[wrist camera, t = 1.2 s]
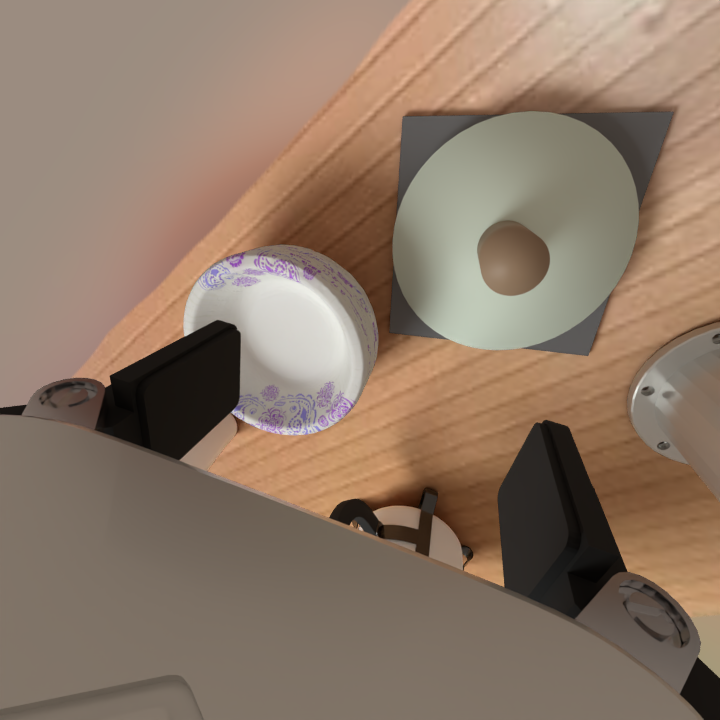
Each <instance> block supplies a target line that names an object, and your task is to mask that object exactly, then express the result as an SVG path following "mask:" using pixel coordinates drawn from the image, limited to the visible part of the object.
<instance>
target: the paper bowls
mask: <svg viewBox="0 0 720 720" xmlns="http://www.w3.org/2000/svg"><path fill="white" fill-rule="evenodd" d="M216 320H221V321H224V322H227V323H231V324H234V325H235V326H236V327H237V330H239V331H240V333H241V358H240V399H239V403H238V405H237V406H236V408H235V409H234V410H233V411H232V412H231V413H232V414H234V415H235V416H236V417H238V418H239V419H241V420H243V421H245V422H246V423H248V424H250V425H252V426H254V427H257V428H259V429H262V430H265V431H268V432H272V433H277V434H283V435H305V434H311V433H316V432H319V431H322V430H324V429H326V428H329V427H331V426H332V425H334V424H336V423H337V422H339V421H340V420H341V419H343V418H344V417H345V416H346V415H347V414H348V413H349V412H350V411H351V409H353V407H354V406H355V404H356V403H357V401H358V400H359V398H360V396H361V394H362V392H363V389H364V387H365V385H366V383H367V381H368V379H369V376H370V374H371V372H372V370H373V367H374V365H375V361H376V358H377V351H378V328H377V323H376V318H375V315H374V311H373V308H372V306H371V304H370V302H369V299H368V297H367V295H366V293H365V291H364V289H363V288H362V287H361V286H360V285H359V283H358V282H357V281H356V280H355V278H354V277H353V276H352V275H351V274H350V273H349V272H348V271H346V270H345V269H344V268H342V267H341V266H340V265H339V264H337V263H336V262H335V261H333V260H332V259H330V258H329V257H327V256H325V255H323V254H320V253H319V252H315V251H313V250H311V249H308V248H304V247H299V246H295V245H281V244H280V245H271V246H264V247H260V248H256V249H253V250H249V251H245V252H242V253H238V254H235V255H231V256H229V257H226V258H224V259H222V260H220V261H218V262H216V263H215V264H213V265H212V266H210V268H208V269H207V270H206V271H205V272H204V273H203V274H202V275H201V276H200V278H199V279H198V280H197V281H196V283H195V285H194V286H193V288H192V290H191V292H190V295H189V297H188V300H187V303H186V307H185V313H184V336H187V335H189V334H191V333H193V332H194V331H196V330H198V329H200V328H202V327H204V326H206V325H208V324H210V323H212V322H214V321H216Z"/></svg>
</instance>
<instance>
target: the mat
mask: <svg viewBox="0 0 720 720" xmlns="http://www.w3.org/2000/svg"><path fill="white" fill-rule="evenodd" d="M560 115H565V116H568V117H571V118H574V119H576V120H579V121H581V122H584V123H585V124H587V125H589V126H590V127H592V128H594V129H595V130H597V131H599V132H600V133H601V134H602V135H603V136H604V137H605V138H607V139H608V140H609V141H610V142H611V143H612V144H613V145H614V147H615V148H616V149H617V150H618V152H619V153H620V154H621V155H622V157H623V159H624V160H625V162H626V164H627V166H628V168H629V170H630V172H631V175H632V177H633V180H634V183H635V186H636V191H637V197H638V203H639V209H640V207H641V204H642V201H643V198H644V195H645V192H646V189H647V187H648V184H649V181H650V178H651V175H652V172H653V169H654V167H655V164H656V161H657V158H658V155H659V152H660V150H661V147H662V144H663V141H664V138H665V135H666V132H667V130H668V127H669V124H670V121H671V118H672V115H673V112H627V113H571V114H560ZM497 116H501V115H459V116H403V120H402V136H401V152H400V169H399V185H398V201H397V214H398V210H399V208H400V205H401V202H402V200H403V197H404V195H405V193H406V191H407V189H408V187H409V186H410V184H411V182H412V180H413V179H414V177H415V176H416V174H417V173H418V172H419V170H420V169H421V167H422V166H423V165H424V164H425V163H426V162H427V160H428V159H429V158H430V157H431V156H432V155H433V154H434V153H435V152H436V151H437V150H438V149H439V148H441V147H442V146H443V145H444V144H445V143H446V142H448V141H449V140H450V139H452V138H453V137H455V136H456V135H458V134H459V133H460V132H462V131H464V130H466V129H468V128H470V127H472V126H473V125H475V124H477V123H480V122H483V121H485V120H488V119H490V118H493V117H497ZM396 218H397V217H396ZM609 295H610V294H609ZM608 298H609V296H608V297H607V298H606V299H605V300H604V301H603V303H602V304H601V305H600V306H599V307H598V308H597V309H596V310H595V311H594V312H593V313H591V314H590V315H589V316H588V317H587V318H585V319H584V320H583V321H582V322H580V323H579V324H577V325H576V326H574V327H573V328H571V329H570V330H568V331H566V332H564V333H563V334H561V335H559V336H557V337H555V338H552V339H550V340H547V341H545V342H542V343H540V344H536V345H532V346H529V347H524V349H533V350H541V351H550V352H559V353H567V354H576V355H584V356H588V355H589V352H590V349H591V347H592V344H593V341H594V338H595V335H596V332H597V329H598V327H599V324H600V321H601V318H602V315H603V312H604V309H605V307H606V304H607V301H608ZM389 333H396V334H404V335H413V336H421V337H430V338H439V339H447V338H445V337H444V336H442V335H440V334H439V333H437V332H435V331H434V330H433V329H431V328H430V327H429V326H428V325H426V324H425V323H424V322H423V321H422V320H421V319H420V318H419V317H418V316H417V315H416V313H415V312H414V311H413V309H412V308H411V307H410V305H409V304H408V302H407V300H406V299H405V297H404V295H403V293H402V291H401V288H400V286H399V283H398V280H397V277H396V273H395V269H394V266H393V282H392V298H391V314H390V330H389ZM447 340H449V339H447Z"/></svg>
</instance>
